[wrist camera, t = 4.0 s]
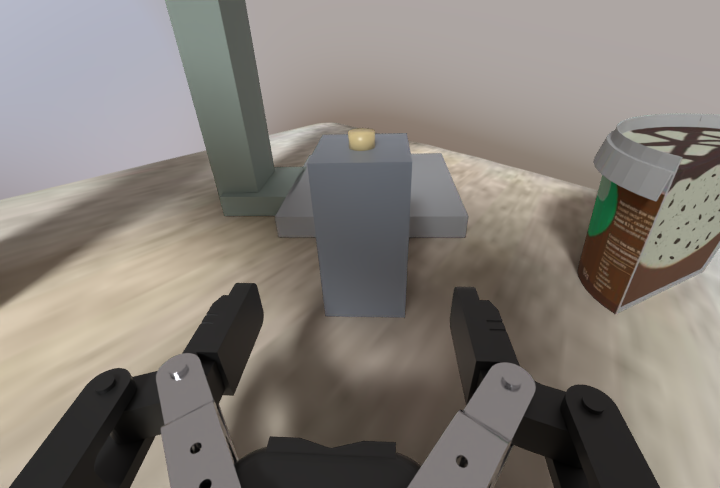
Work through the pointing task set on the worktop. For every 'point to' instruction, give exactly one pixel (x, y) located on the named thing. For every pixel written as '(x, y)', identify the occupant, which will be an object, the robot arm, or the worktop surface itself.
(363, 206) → the block
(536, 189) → the worktop surface
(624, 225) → the food container
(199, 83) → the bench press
